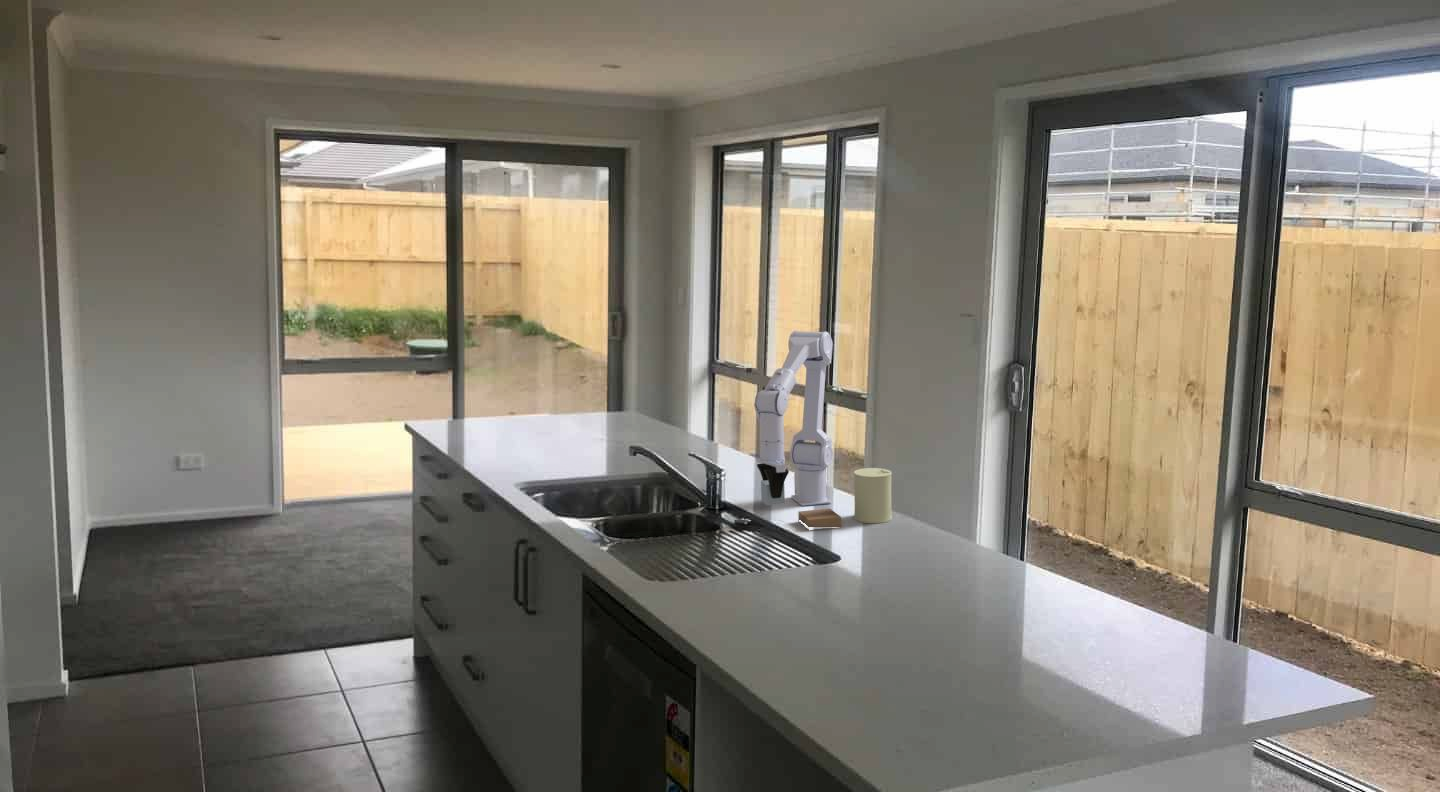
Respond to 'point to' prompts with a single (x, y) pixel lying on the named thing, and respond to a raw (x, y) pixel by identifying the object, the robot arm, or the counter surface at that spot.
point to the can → (872, 495)
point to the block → (767, 495)
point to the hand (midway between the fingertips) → (773, 495)
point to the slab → (820, 518)
